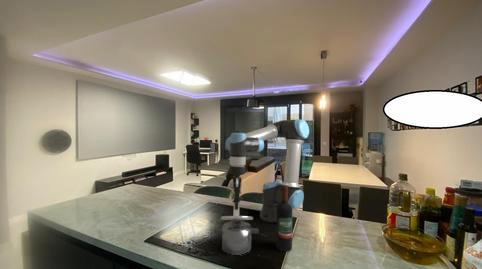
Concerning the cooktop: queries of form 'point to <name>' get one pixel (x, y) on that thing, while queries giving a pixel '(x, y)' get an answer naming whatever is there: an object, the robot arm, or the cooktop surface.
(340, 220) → the cooktop surface
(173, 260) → the cooktop surface
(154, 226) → the cooktop surface
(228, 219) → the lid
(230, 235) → the pot
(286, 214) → the wine bottle
